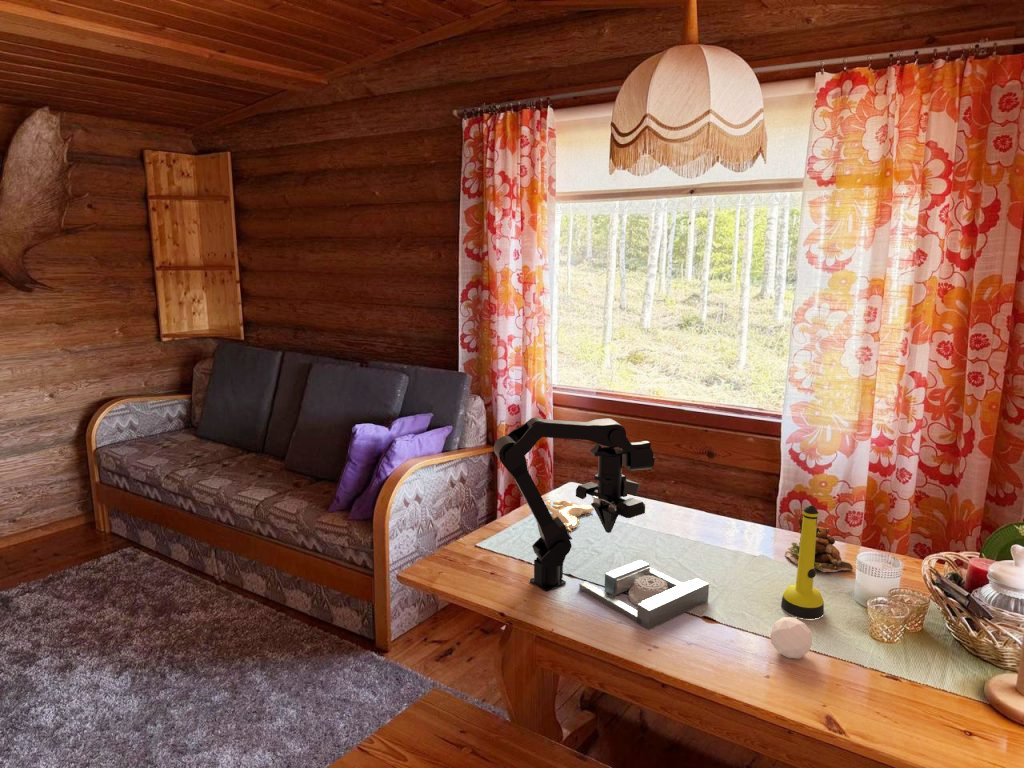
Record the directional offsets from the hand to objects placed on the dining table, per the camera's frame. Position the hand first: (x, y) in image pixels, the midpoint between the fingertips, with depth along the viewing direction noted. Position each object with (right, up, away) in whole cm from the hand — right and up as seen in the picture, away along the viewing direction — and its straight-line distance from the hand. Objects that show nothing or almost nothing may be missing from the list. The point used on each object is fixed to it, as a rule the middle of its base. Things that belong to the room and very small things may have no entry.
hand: (608, 532), depth 166 cm
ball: (+32, -18, -30) cm, 48 cm away
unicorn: (-6, -5, +39) cm, 40 cm away
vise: (+6, -13, -6) cm, 16 cm away
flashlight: (+42, -15, -14) cm, 46 cm away
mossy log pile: (+56, -10, +10) cm, 58 cm away
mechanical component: (+8, -14, -8) cm, 18 cm away
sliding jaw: (+4, -13, -3) cm, 14 cm away
